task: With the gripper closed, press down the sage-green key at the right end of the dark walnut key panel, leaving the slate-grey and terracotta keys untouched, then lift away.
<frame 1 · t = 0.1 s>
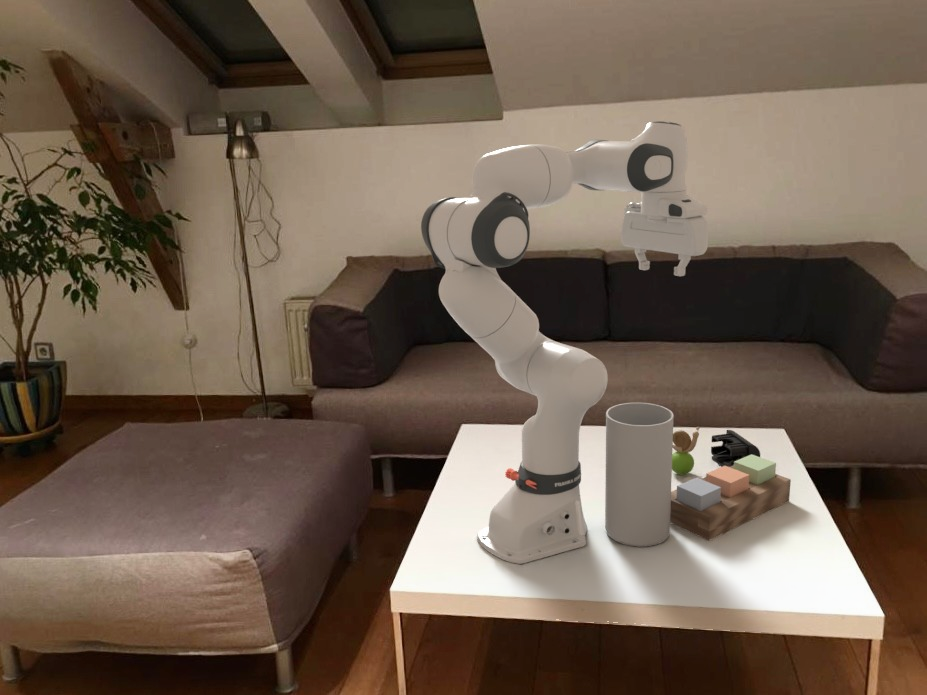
hand: (661, 272, 171), 48 cm above the table, tool pointing down, fingers open, 8 cm apart
terracotta key: (727, 483, 170), point 6 cm above the table, slide at 0.0 cm
cylinder vase: (637, 533, 164), on the table
slate key: (698, 495, 165), point 6 cm above the table, slide at 0.0 cm
snail figurine: (683, 474, 189), on the table
key panel: (725, 509, 172), on the table
end cap: (734, 465, 193), on the table
sage key: (754, 471, 175), point 6 cm above the table, slide at 0.0 cm
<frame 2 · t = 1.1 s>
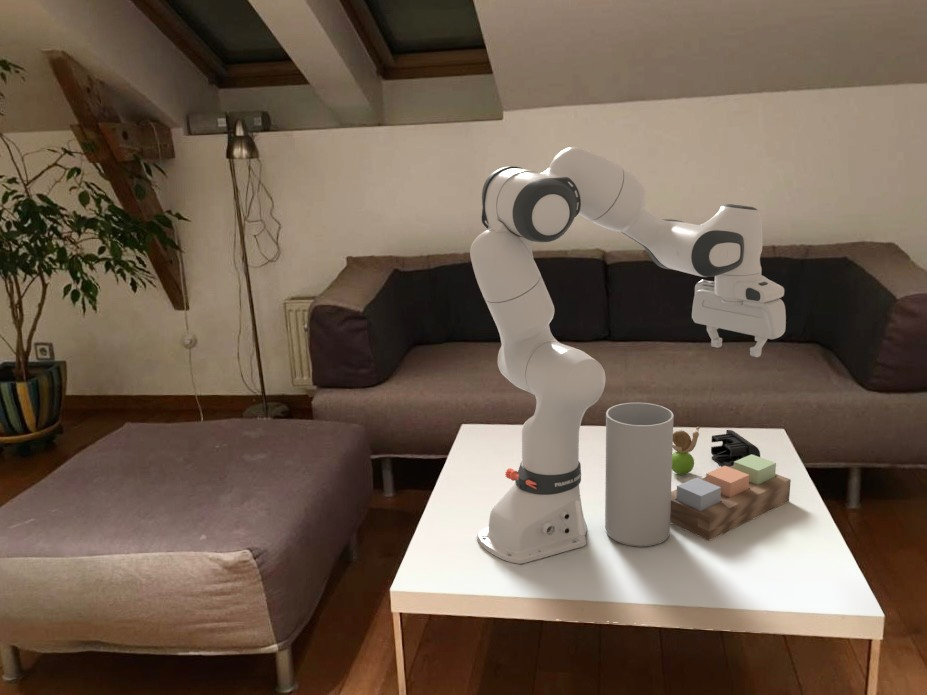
hand: (735, 351, 170), 32 cm above the table, tool pointing down, fingers open, 8 cm apart
nothing on the table moved.
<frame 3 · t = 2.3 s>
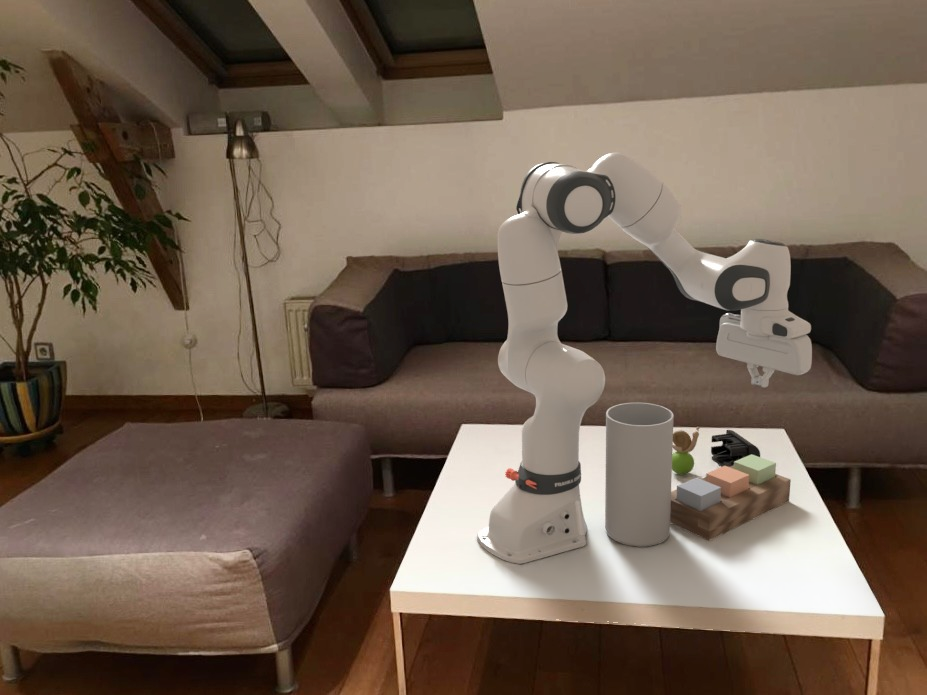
hand: (759, 385, 170), 25 cm above the table, tool pointing down, fingers closed
nothing on the table moved.
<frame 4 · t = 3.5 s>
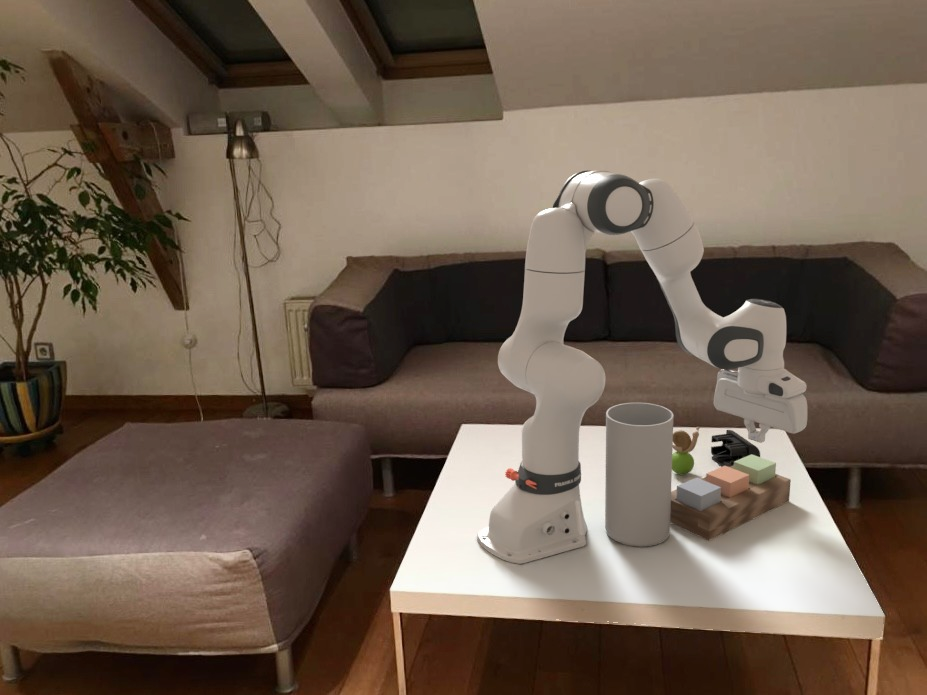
hand: (756, 440, 173), 13 cm above the table, tool pointing down, fingers closed
nothing on the table moved.
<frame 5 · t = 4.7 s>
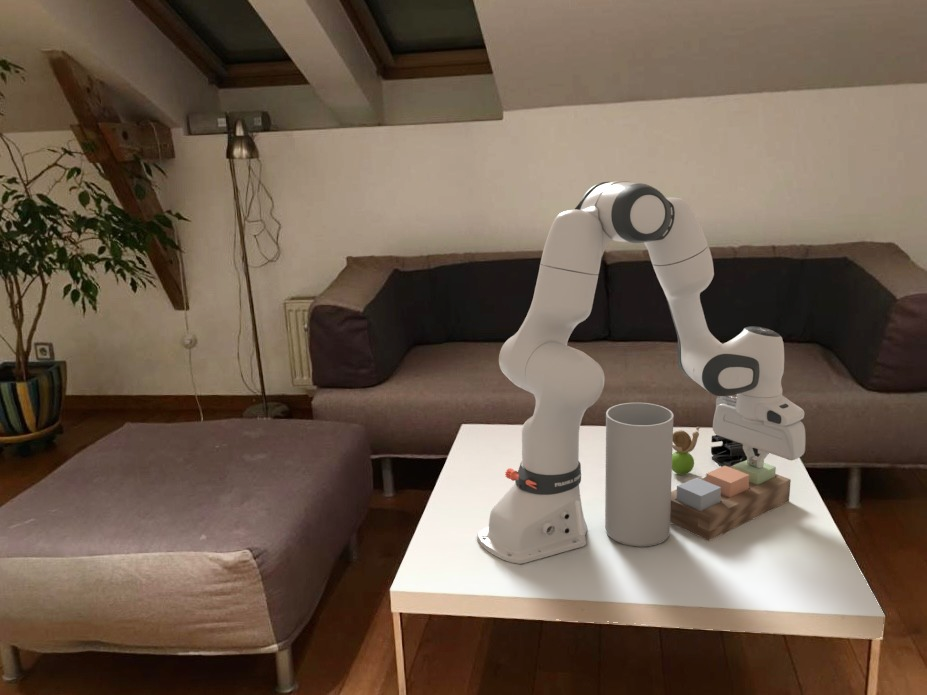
hand: (755, 465, 175), 7 cm above the table, tool pointing down, fingers closed, pressing on sage key
sage key: (754, 474, 175), point 5 cm above the table, slide at 0.9 cm, touching gripper
everything else where it was.
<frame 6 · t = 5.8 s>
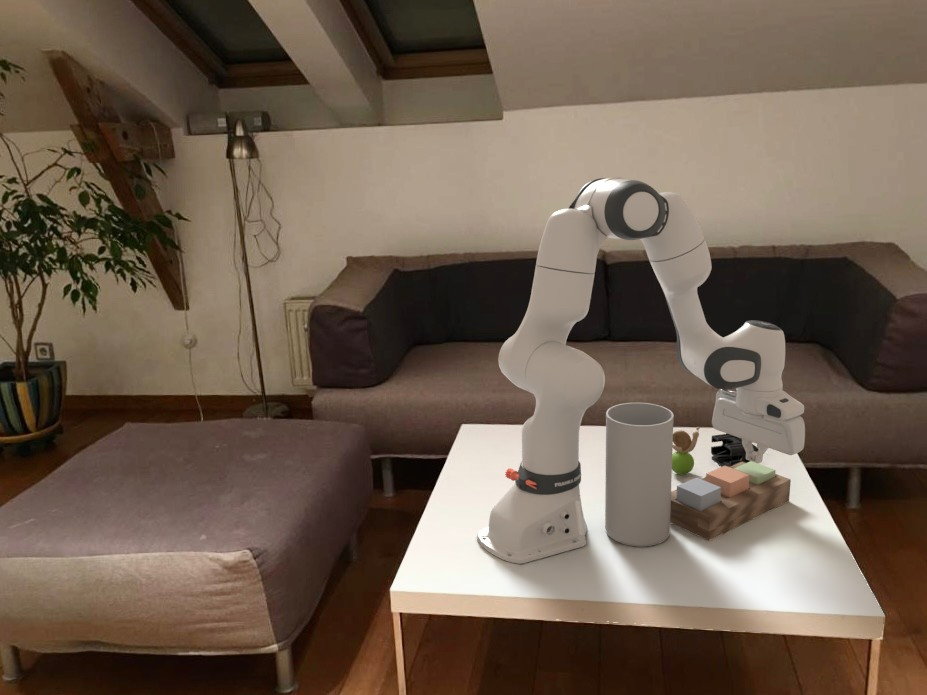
hand: (753, 460, 174), 8 cm above the table, tool pointing down, fingers closed
sage key: (753, 477, 176), point 4 cm above the table, slide at 1.6 cm
everything else where it was.
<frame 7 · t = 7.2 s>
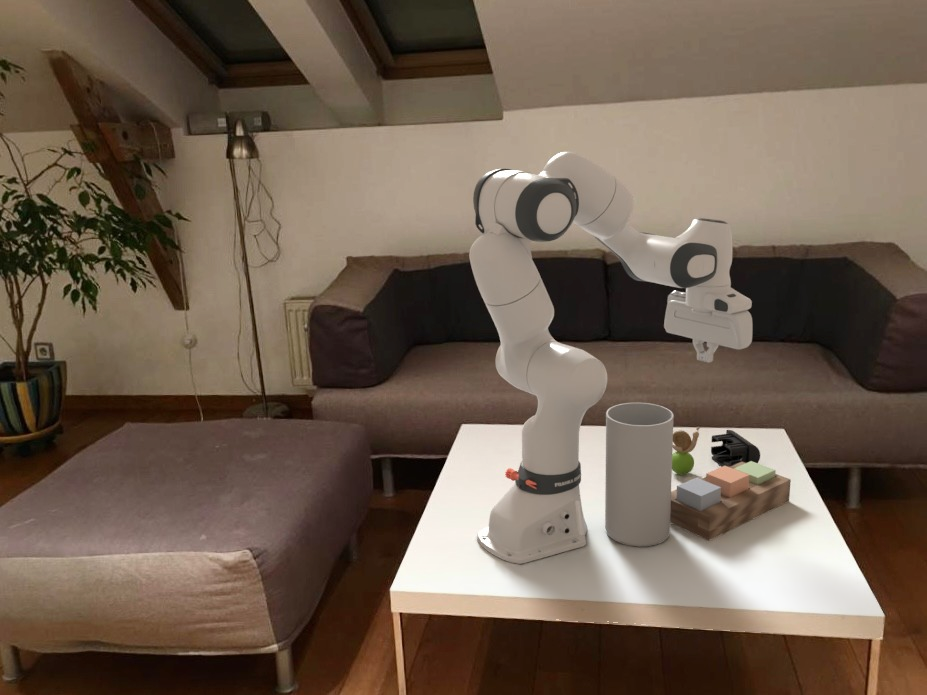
hand: (704, 360, 175), 29 cm above the table, tool pointing down, fingers closed
nothing on the table moved.
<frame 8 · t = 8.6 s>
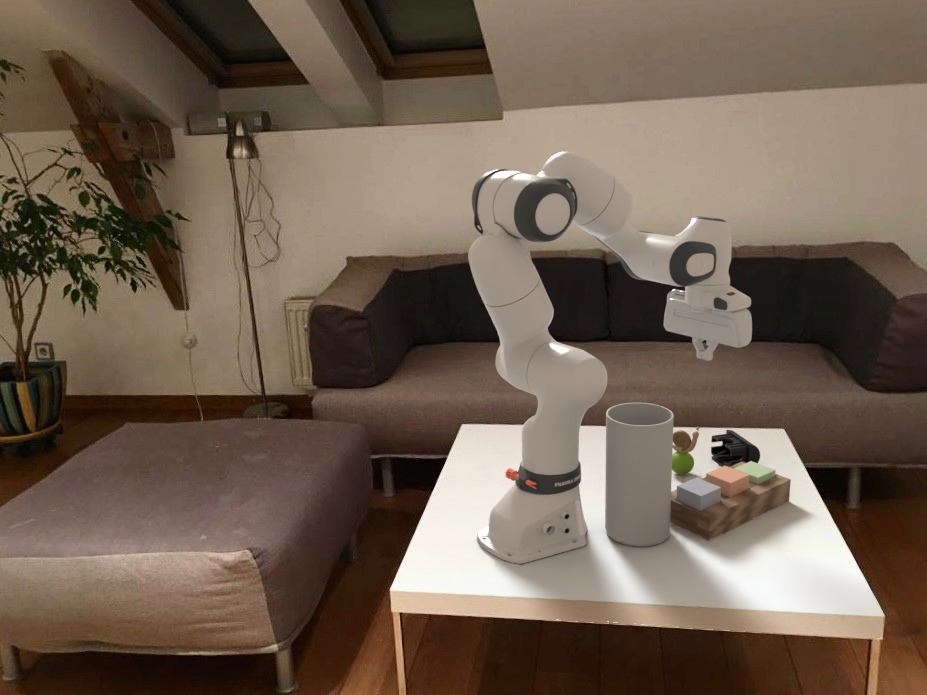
hand: (704, 359, 175), 29 cm above the table, tool pointing down, fingers closed
nothing on the table moved.
at the end: sage key slide at 1.6 cm; terracotta key slide at 0.0 cm; slate key slide at 0.0 cm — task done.
